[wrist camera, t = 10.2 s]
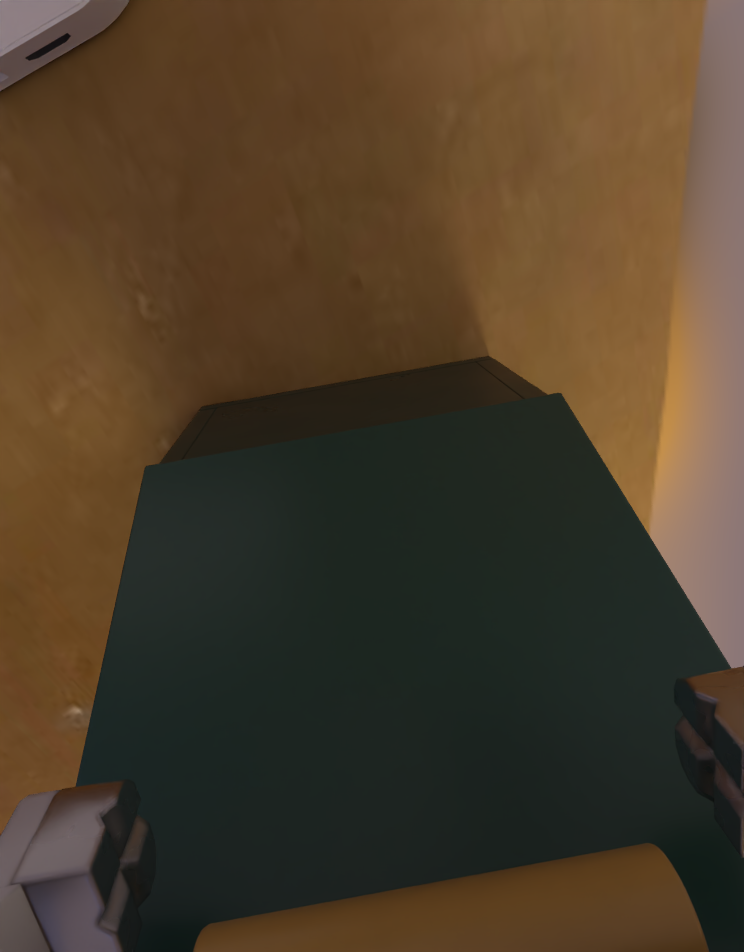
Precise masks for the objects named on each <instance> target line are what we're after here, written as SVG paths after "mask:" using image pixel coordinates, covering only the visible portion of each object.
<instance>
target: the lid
mask: <svg viewBox="0 0 744 952" xmlns="http://www.w3.org/2000/svg"><path fill="white" fill-rule="evenodd" d="M727 669H731V667H730V665H729V664H728V662H727V660H726V659H725V657H724V656H723V654H722V652H721V651H720V649H719V648H718V646H717V644H716V643H715V641H714V640H713V638H712V636H711V635H710V633H709V631H708V630H707V628H706V627H705V625H704V623H703V622H702V620H701V618H700V617H699V615H698V614H697V612H696V610H695V609H694V608H693V606H692V604H691V602H690V601H689V599H688V598H687V596H686V594H685V593H684V591H683V589H682V588H681V586H680V585H679V583H678V581H677V580H676V578H675V577H674V575H673V573H672V572H671V570H670V568H669V567H668V565H667V564H666V562H665V560H664V559H663V557H662V556H661V554H660V552H659V551H658V549H657V548H656V546H655V544H654V543H653V541H652V539H651V538H650V536H649V535H648V533H647V531H646V530H645V528H644V526H643V525H642V523H641V522H640V520H639V518H638V517H637V515H636V514H635V512H634V510H633V509H632V507H631V505H630V504H629V502H628V501H627V499H626V497H625V496H624V494H623V493H622V491H621V489H620V488H619V486H618V484H617V483H616V481H615V480H614V478H613V476H612V475H611V473H610V472H609V470H608V468H607V467H606V465H605V463H604V462H603V460H602V459H601V457H600V455H599V454H598V452H597V451H596V449H595V447H594V446H593V444H592V442H591V441H590V439H589V438H588V436H587V434H586V433H585V431H584V430H583V428H582V426H581V425H580V423H579V421H578V420H577V418H576V417H575V415H574V413H573V412H572V410H571V409H570V407H569V405H568V404H567V402H566V401H565V399H564V397H563V396H562V394H561V393H555V394H549V395H544V396H538V397H532V398H527V399H521V400H515V401H510V402H504V403H499V404H493V405H487V406H482V407H476V408H470V409H465V410H459V411H454V412H448V413H442V414H437V415H431V416H425V417H420V418H414V419H408V420H403V421H397V422H392V423H386V424H380V425H375V426H369V427H363V428H358V429H352V430H346V431H341V432H335V433H330V434H324V435H318V436H313V437H307V438H301V439H296V440H290V441H285V442H279V443H273V444H268V445H262V446H256V447H251V448H245V449H239V450H234V451H228V452H223V453H217V454H211V455H206V456H200V457H194V458H189V459H183V460H177V461H172V462H166V463H161V464H155V465H149V466H146V467H145V470H144V474H143V479H142V483H141V488H140V493H139V497H138V502H137V506H136V511H135V516H134V520H133V525H132V529H131V534H130V539H129V543H128V548H127V552H126V557H125V562H124V566H123V571H122V575H121V580H120V585H119V589H118V594H117V598H116V603H115V608H114V612H113V617H112V621H111V626H110V631H109V635H108V640H107V645H106V649H105V654H104V658H103V663H102V668H101V672H100V677H99V681H98V686H97V691H96V695H95V700H94V704H93V709H92V714H91V718H90V723H89V727H88V732H87V737H86V741H85V746H84V750H83V755H82V760H81V764H80V769H79V773H78V778H77V783H76V787H78V786H84V785H91V784H97V783H103V782H110V781H116V780H122V779H129V780H131V781H134V782H135V785H136V787H137V790H138V792H139V795H140V797H141V802H140V805H139V808H138V811H137V815H139V816H140V817H142V818H143V819H145V820H146V821H148V822H149V823H150V826H151V829H152V832H153V835H154V840H155V846H156V872H155V878H154V882H153V886H152V891H151V894H150V895H149V896H148V897H147V898H146V900H145V901H144V902H143V903H142V904H141V905H140V906H139V907H138V912H139V915H140V917H141V920H142V923H143V924H142V928H141V932H140V935H139V939H138V943H137V946H136V950H135V952H744V858H741V856H740V855H739V853H738V852H737V850H736V849H735V848H734V846H733V845H732V843H731V842H730V840H729V839H728V837H727V836H726V835H725V833H724V832H723V830H722V829H721V827H720V826H719V824H718V823H717V822H716V820H715V819H714V802H712V801H711V800H709V799H707V798H705V797H703V796H701V795H699V794H698V793H697V792H696V791H695V789H694V788H693V786H692V785H691V783H690V782H689V780H688V778H687V776H686V774H685V772H684V770H683V768H682V766H681V763H680V759H679V756H678V752H677V748H676V742H675V726H676V724H677V723H678V721H679V720H680V718H681V717H682V716H683V713H682V712H681V711H680V709H679V708H678V707H677V705H676V704H675V703H674V686H675V683H676V680H677V679H680V678H685V677H690V676H695V675H701V674H706V673H711V672H717V671H722V670H727Z"/></svg>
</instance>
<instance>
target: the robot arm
mask: <svg viewBox="0 0 744 952" xmlns="http://www.w3.org/2000/svg"><path fill="white" fill-rule="evenodd" d="M674 703H675V704H676V705H677V707H678V708H679V709H680V711H681V712H682V713H683V716H682V717H681V718H680V720H679V721H678V723H677V724H676V726H675V742H676V748H677V752H678V756H679V759H680V763H681V766H682V768H683V770H684V772H685V774H686V776H687V778H688V780H689V782H690V783H691V785H692V786H693V788H694V789H695V791H696V792H697V793H698V794H699V795H701V796H703V797H705V798H707V799H709V800H711V801H712V802H714V819H715V820H716V822H717V823H718V824H719V826H720V827H721V829H722V830H723V832H724V833H725V835H726V836H727V837H728V839H729V840H730V842H731V843H732V845H733V846H734V848H735V849H736V850H737V852H738V853H739V855H740V856H741V858H744V666H743V667H738V668H733V669H727V670H722V671H717V672H711V673H706V674H701V675H695V676H690V677H685V678H680V679H677V680H676V683H675V686H674ZM140 802H141V797H140V795H139V792H138V790H137V787H136V785H135V782H134V781H131V780H129V779H122V780H116V781H110V782H103V783H97V784H91V785H84V786H78V787H72V788H65V789H62V790H56V791H50V792H44V793H38V794H31V795H28V796H27V797H25V798H24V799H22V800H21V801H20V802H19V804H18V805H17V807H16V809H15V811H14V812H13V814H12V816H11V818H10V820H9V821H8V823H7V825H6V827H5V829H4V830H3V832H2V834H1V836H0V952H135V950H136V946H137V943H138V939H139V935H140V932H141V928H142V924H143V923H142V920H141V917H140V915H139V912H138V907H139V906H140V905H141V904H142V903H143V902H144V901H145V900H146V898H147V897H148V896H149V895H150V894H151V891H152V886H153V882H154V878H155V872H156V846H155V840H154V835H153V832H152V829H151V826H150V823H149V822H148V821H146V820H145V819H143V818H142V817H140V816H139V815H137V811H138V808H139V805H140Z"/></svg>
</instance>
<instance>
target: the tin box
mask: <svg viewBox="0 0 744 952" xmlns="http://www.w3.org/2000/svg"><path fill="white" fill-rule="evenodd" d="M544 395H548V394H546V393H545V392H543V391H542V390H540V389H539V388H537V387H536V386H534V385H533V384H531V383H530V382H528V381H526V380H525V379H523V378H522V377H520V376H519V375H517V374H516V373H514V372H513V371H511V370H510V369H508V368H507V367H505V366H504V365H502V364H501V363H499V362H498V361H496V360H495V359H493V358H491V357H490V356H487V357H481V358H475V359H470V360H464V361H458V362H453V363H447V364H441V365H436V366H430V367H425V368H419V369H413V370H408V371H402V372H396V373H391V374H385V375H379V376H374V377H368V378H362V379H357V380H351V381H345V382H340V383H334V384H328V385H323V386H317V387H311V388H306V389H300V390H294V391H289V392H283V393H277V394H272V395H266V396H260V397H255V398H249V399H243V400H238V401H232V402H227V403H221V404H215V405H210V406H204V407H202V408H201V409H200V410H199V412H198V413H197V414H196V415H195V417H194V418H193V419H192V421H191V422H190V423H189V425H188V426H187V427H186V429H185V430H184V431H183V433H182V434H181V435H180V437H179V438H178V439H177V441H176V442H175V443H174V445H173V446H172V447H171V449H170V450H169V451H168V453H167V454H166V455H165V456H164V458H163V459H162V460H161V462H160V463H159V464H161V463H166V462H172V461H177V460H183V459H189V458H194V457H200V456H206V455H211V454H217V453H223V452H228V451H234V450H239V449H245V448H251V447H256V446H262V445H268V444H273V443H279V442H285V441H290V440H296V439H301V438H307V437H313V436H318V435H324V434H330V433H335V432H341V431H346V430H352V429H358V428H363V427H369V426H375V425H380V424H386V423H392V422H397V421H403V420H408V419H414V418H420V417H425V416H431V415H437V414H442V413H448V412H454V411H459V410H465V409H470V408H476V407H482V406H487V405H493V404H499V403H504V402H510V401H515V400H521V399H527V398H532V397H538V396H544Z"/></svg>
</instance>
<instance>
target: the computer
mask: <svg viewBox="0 0 744 952" xmlns="http://www.w3.org/2000/svg"><path fill="white" fill-rule="evenodd" d="M128 2H129V0H0V91H1V90H3V89H5V88H6V87H8V86H10V85H11V84H13V83H15V82H17V81H18V80H20V79H22V78H23V77H25V76H27V75H28V74H30V73H32V72H34V71H35V70H37V69H39V68H40V67H42V66H44V65H46V64H47V63H49V62H51V61H52V60H54V59H56V58H57V57H59V56H61V55H63V54H64V53H66V52H68V51H69V50H71V49H73V48H75V47H76V46H78V45H80V44H81V43H83V42H85V41H86V40H88V39H90V38H92V37H93V36H95V35H97V34H98V33H100V32H101V31H103V30H104V29H106V28H107V27H108V26H109V25H110V24H111V23H112V22H113V21H115V20H116V19H117V18H118V16H119V15H120V14H121V12H122V11H123V10H124V8H125V7H126V6H127V4H128Z"/></svg>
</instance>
